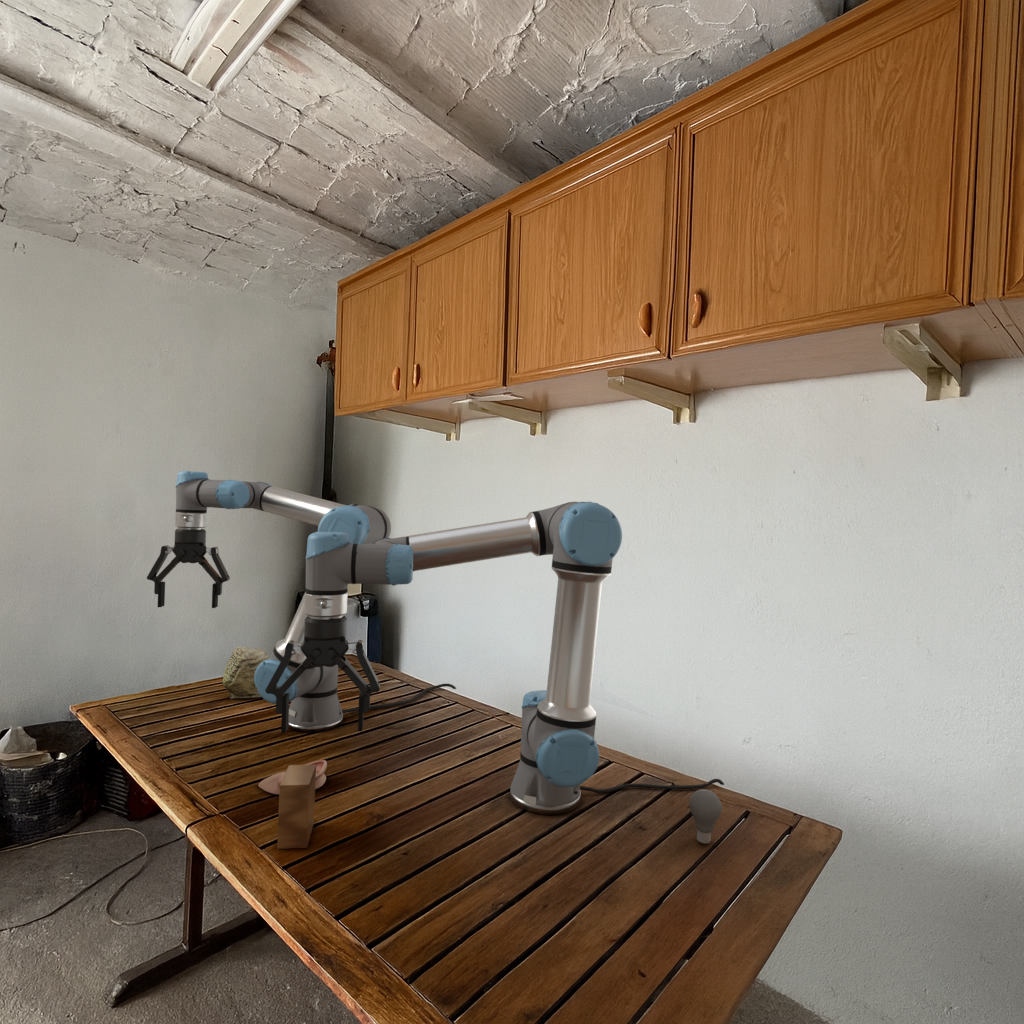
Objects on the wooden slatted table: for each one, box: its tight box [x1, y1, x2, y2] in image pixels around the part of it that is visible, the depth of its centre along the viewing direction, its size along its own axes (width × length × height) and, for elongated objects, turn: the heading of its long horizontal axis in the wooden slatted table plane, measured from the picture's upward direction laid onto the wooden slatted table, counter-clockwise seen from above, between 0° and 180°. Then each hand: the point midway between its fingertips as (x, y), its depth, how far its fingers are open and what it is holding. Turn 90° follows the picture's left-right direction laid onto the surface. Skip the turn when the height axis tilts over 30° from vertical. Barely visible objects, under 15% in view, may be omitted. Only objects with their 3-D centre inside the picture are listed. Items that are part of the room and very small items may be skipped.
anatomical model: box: [257, 759, 328, 795], centre depth 139 cm, size 13×4×12 cm
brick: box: [277, 764, 316, 850], centre depth 118 cm, size 5×9×12 cm, turn 9°
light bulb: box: [688, 788, 723, 844], centre depth 122 cm, size 6×6×10 cm
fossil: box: [222, 646, 270, 699], centre depth 198 cm, size 9×18×15 cm, turn 132°
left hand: (188, 607), depth 171 cm, fingers open, 13 cm apart
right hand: (323, 729), depth 117 cm, fingers open, 13 cm apart
